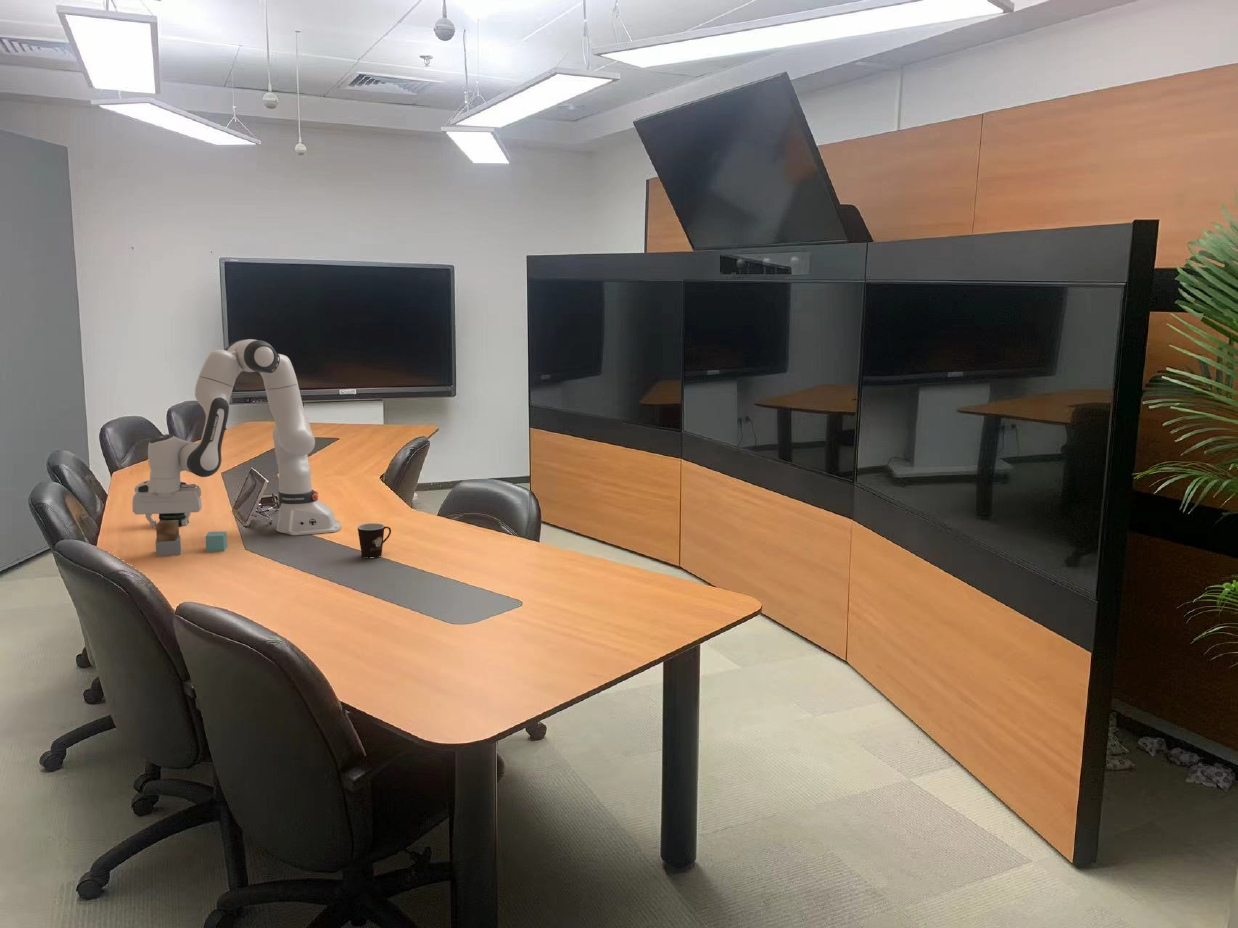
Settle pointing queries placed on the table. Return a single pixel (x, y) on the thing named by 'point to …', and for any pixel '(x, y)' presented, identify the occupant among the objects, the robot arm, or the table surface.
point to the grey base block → (168, 547)
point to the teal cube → (216, 541)
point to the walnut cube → (167, 530)
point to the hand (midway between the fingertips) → (169, 526)
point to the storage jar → (173, 516)
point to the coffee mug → (372, 539)
